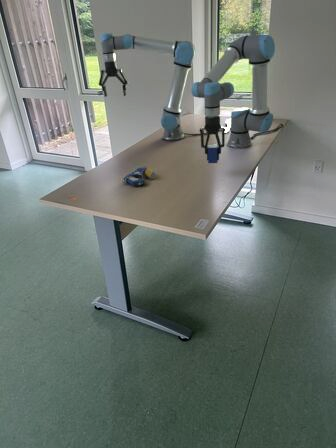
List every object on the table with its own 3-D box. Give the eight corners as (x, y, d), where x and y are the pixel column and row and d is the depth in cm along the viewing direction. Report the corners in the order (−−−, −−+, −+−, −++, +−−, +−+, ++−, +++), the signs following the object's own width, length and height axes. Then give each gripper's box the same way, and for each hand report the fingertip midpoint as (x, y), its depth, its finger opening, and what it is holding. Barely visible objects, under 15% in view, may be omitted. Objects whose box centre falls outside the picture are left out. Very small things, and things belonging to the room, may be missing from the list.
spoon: (232, 135, 248) (232, 132, 246) (218, 134, 251) (218, 132, 250) (241, 119, 274) (241, 117, 273) (228, 119, 278) (228, 117, 276)
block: (208, 163, 179) (207, 147, 175) (209, 159, 184) (208, 144, 180) (217, 163, 178) (217, 147, 174) (217, 159, 183) (217, 143, 179)
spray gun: (161, 173, 192) (139, 170, 198) (160, 166, 189) (138, 164, 196) (143, 189, 176) (120, 186, 183) (142, 181, 174) (118, 179, 180)
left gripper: (89, 63, 213) (96, 97, 224) (126, 60, 208) (131, 96, 219) (94, 61, 219) (100, 95, 230) (130, 59, 214) (134, 94, 225)
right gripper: (194, 118, 167) (195, 162, 179) (230, 117, 164) (229, 161, 176) (195, 114, 173) (197, 157, 186) (230, 113, 170) (230, 156, 182)
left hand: (115, 96), depth 224 cm, fingers open, 13 cm apart
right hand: (213, 159), depth 181 cm, fingers closed on block, 5 cm apart
